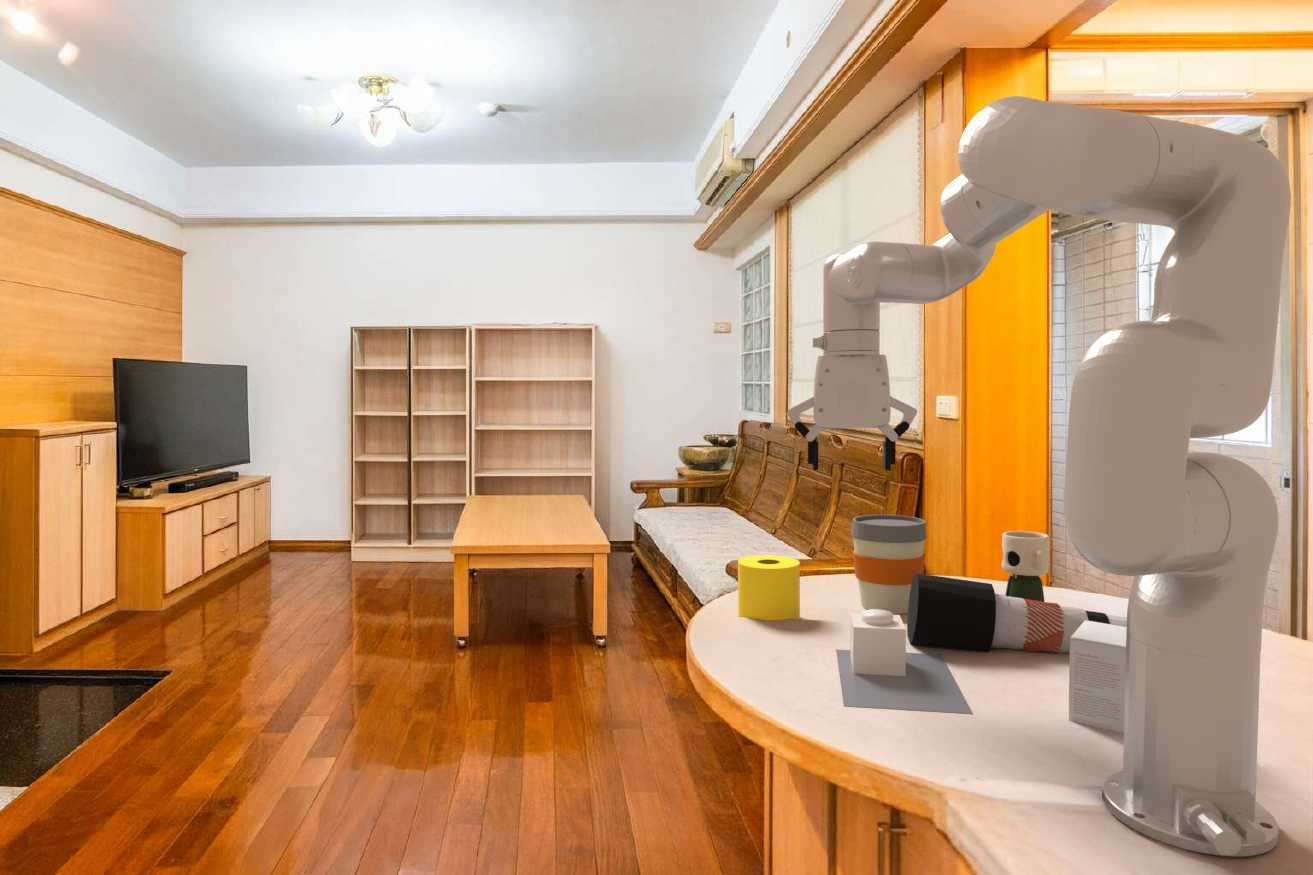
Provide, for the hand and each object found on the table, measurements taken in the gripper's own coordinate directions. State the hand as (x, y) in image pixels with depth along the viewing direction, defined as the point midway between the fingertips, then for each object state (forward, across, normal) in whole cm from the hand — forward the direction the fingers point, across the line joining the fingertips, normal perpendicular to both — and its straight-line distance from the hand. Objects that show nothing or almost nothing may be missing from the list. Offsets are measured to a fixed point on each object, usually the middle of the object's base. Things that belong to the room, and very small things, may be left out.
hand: (850, 469), depth 108 cm
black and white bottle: (+27, +26, +4) cm, 37 cm away
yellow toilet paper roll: (+27, -12, +17) cm, 34 cm away
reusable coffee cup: (+26, +8, +27) cm, 39 cm away
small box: (+27, +26, -19) cm, 42 cm away
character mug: (+26, +30, +27) cm, 48 cm away
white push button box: (+25, +3, -7) cm, 26 cm away
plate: (+26, +5, -11) cm, 29 cm away
